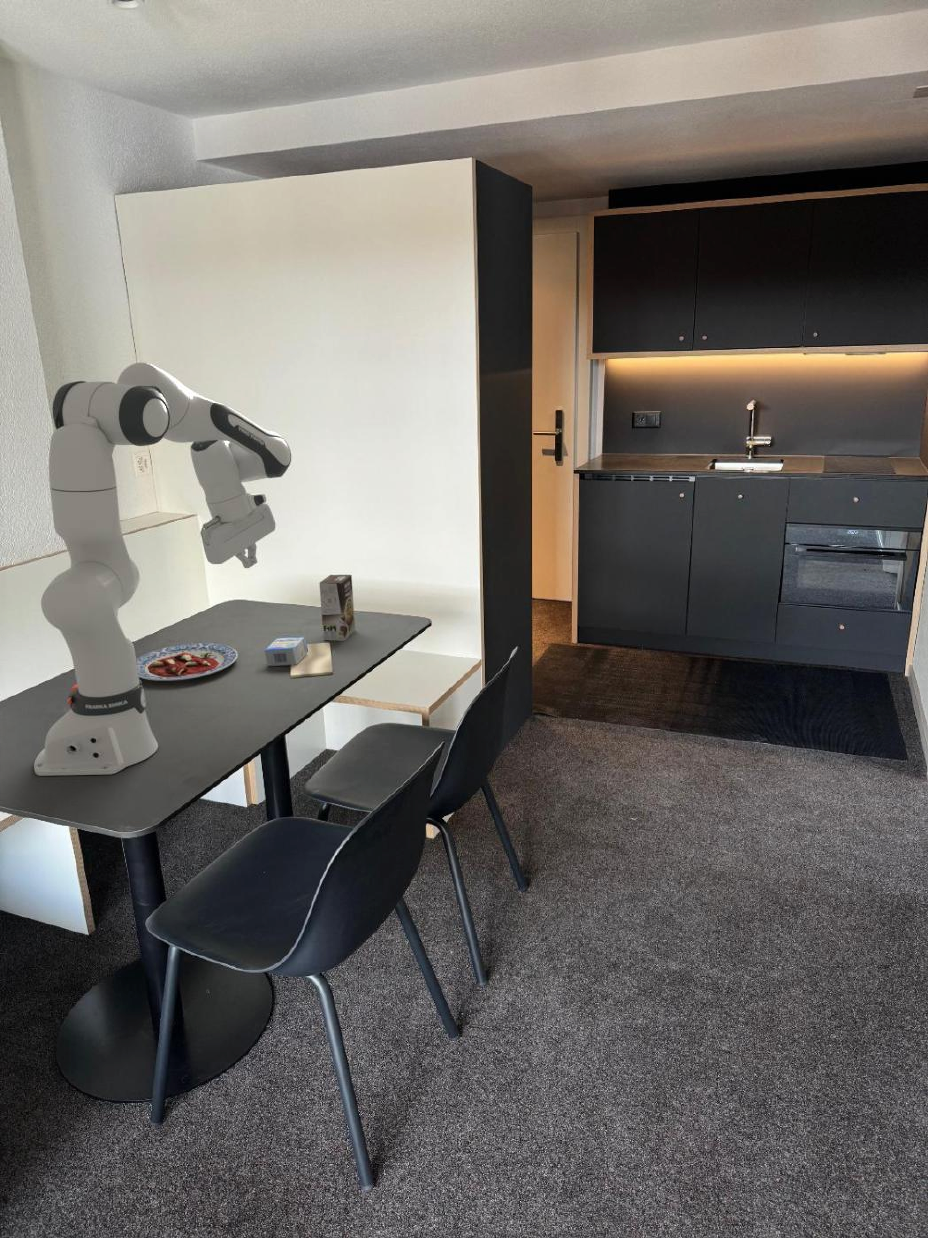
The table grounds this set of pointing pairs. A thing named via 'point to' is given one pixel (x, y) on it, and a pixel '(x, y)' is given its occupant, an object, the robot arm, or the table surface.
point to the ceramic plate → (185, 661)
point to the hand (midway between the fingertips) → (251, 565)
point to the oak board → (314, 661)
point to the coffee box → (337, 607)
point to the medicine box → (286, 651)
